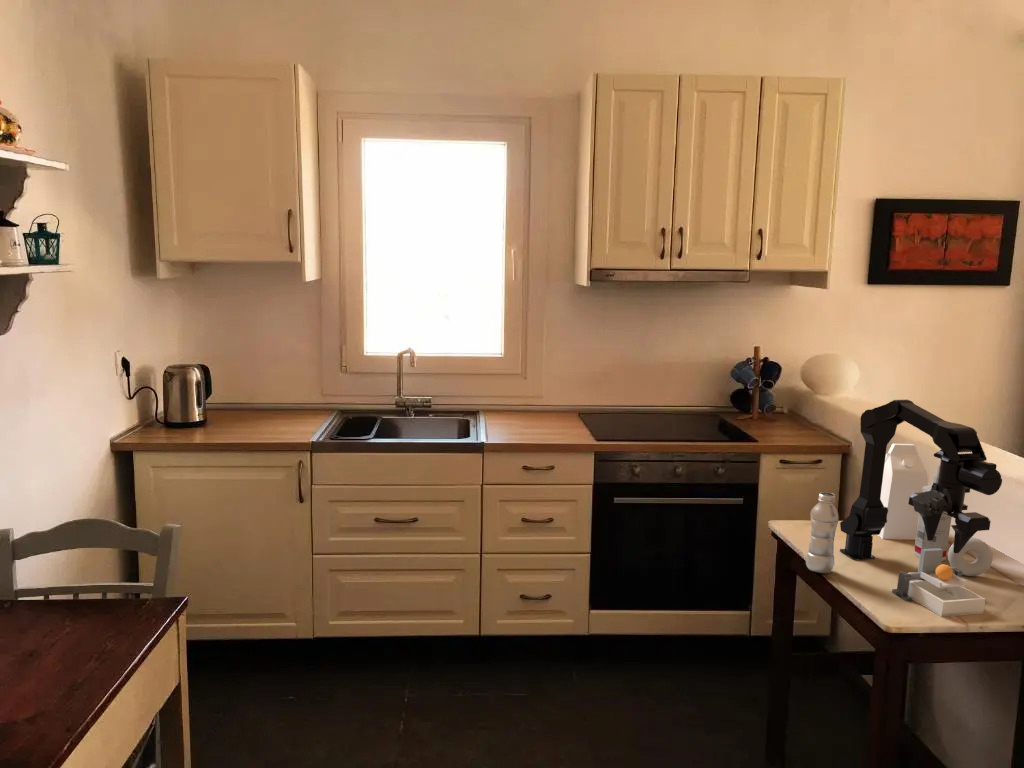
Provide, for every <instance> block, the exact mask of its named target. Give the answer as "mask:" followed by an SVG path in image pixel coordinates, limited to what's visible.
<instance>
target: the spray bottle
mask: <svg viewBox="0 0 1024 768" xmlns="http://www.w3.org/2000/svg"><path fill="white" fill-rule="evenodd" d="M939 470H940V464H937V465H936V471H935V472H934V475H933V478H932V483H931V485H929V484H928V486H923V488H922V492H927V491H930V490H931V488H932V485H933V483H938V477H939ZM952 518H953V517H951V516H949V515H946V514H944V513H942V515H941V518H940V521H939V524H938V527H937V530H936V533H935V536H934V538H933V540H928V539H927V535H926V530H925V526H924V522H923V519H922V516H921V515H920V514H919V518H918V526H917V533H916V540H915V542H914V549H913V555H915V556H917V557H918V558H920V555H921V549H932V548H940V549H942V550H943V554H942V561H941V562H943V561H946V559H947V555H948V547H949V546H948V545H949V538H950V531H951V523H952Z"/></svg>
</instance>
